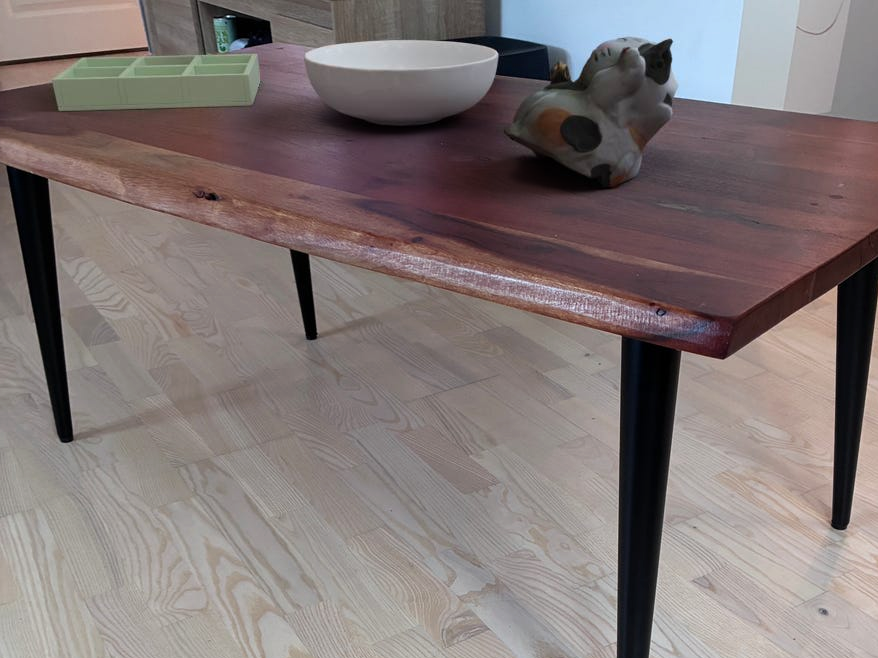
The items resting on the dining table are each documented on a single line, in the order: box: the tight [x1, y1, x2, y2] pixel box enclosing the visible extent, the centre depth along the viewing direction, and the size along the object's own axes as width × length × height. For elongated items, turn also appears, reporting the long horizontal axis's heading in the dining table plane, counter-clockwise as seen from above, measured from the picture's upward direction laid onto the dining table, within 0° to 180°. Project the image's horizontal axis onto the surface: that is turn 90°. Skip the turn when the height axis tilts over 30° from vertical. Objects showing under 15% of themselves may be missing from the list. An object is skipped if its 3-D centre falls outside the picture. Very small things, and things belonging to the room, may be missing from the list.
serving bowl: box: [303, 39, 499, 127], centre depth 101 cm, size 21×21×7 cm
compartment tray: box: [51, 53, 261, 112], centre depth 112 cm, size 22×15×4 cm
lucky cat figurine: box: [503, 36, 679, 188], centre depth 81 cm, size 15×12×14 cm
